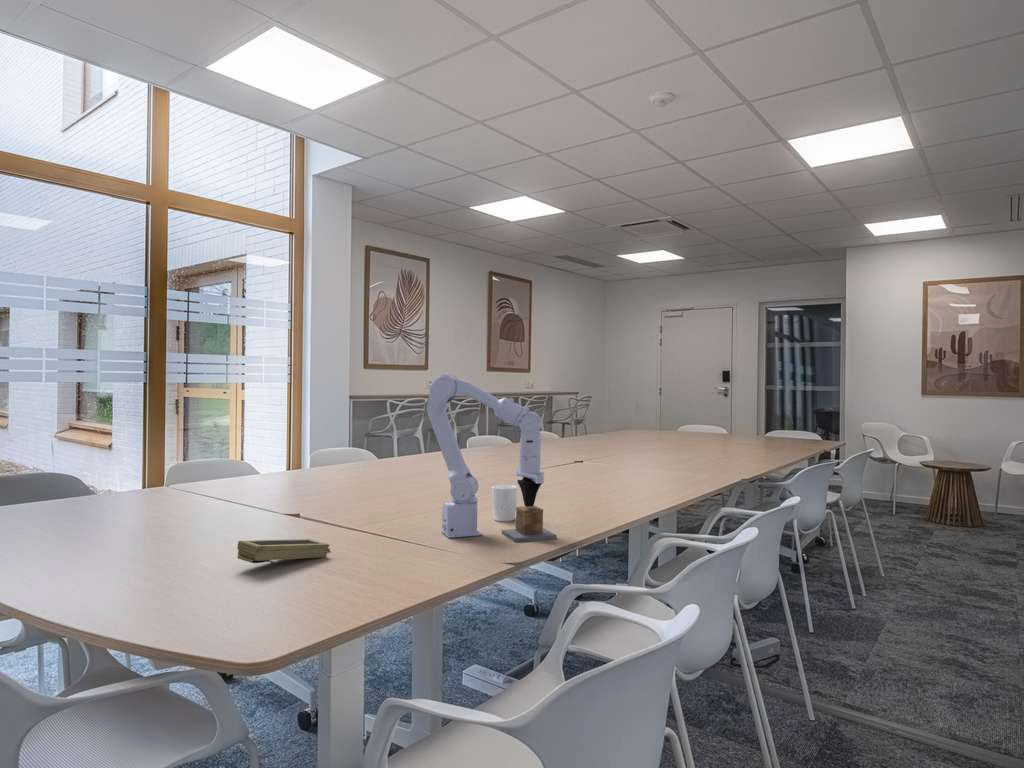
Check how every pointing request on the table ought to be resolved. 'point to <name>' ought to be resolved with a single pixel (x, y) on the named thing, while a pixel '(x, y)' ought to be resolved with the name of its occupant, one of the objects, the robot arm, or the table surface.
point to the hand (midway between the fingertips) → (529, 506)
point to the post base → (519, 537)
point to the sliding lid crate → (529, 520)
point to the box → (280, 550)
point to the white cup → (504, 502)
